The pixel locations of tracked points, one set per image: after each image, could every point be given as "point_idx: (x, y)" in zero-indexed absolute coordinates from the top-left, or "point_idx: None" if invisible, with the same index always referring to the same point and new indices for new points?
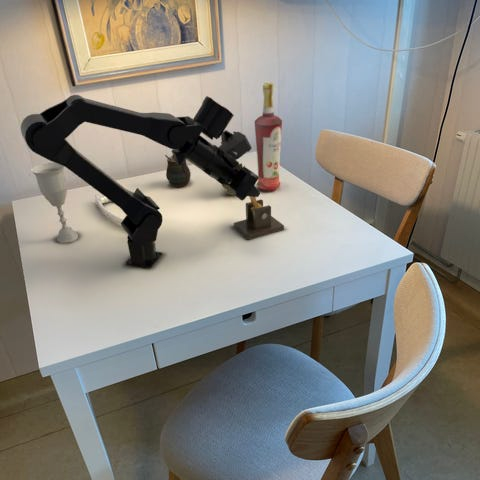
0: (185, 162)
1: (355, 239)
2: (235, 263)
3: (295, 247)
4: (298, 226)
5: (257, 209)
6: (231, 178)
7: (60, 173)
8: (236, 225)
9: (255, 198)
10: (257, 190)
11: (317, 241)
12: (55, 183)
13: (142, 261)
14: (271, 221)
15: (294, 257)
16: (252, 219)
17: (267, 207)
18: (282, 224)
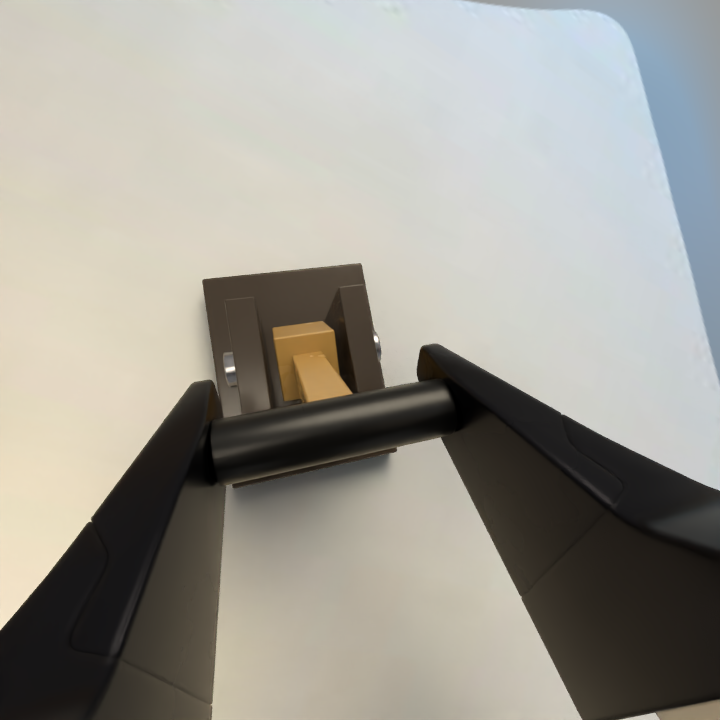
0: None
1: (510, 82)
2: None
3: (504, 291)
4: (348, 203)
5: (371, 378)
6: (181, 701)
7: None
8: (268, 480)
9: (333, 369)
10: (483, 374)
11: (486, 199)
12: None
13: None
14: (300, 298)
15: (566, 324)
16: (273, 390)
17: (368, 309)
18: (348, 264)
